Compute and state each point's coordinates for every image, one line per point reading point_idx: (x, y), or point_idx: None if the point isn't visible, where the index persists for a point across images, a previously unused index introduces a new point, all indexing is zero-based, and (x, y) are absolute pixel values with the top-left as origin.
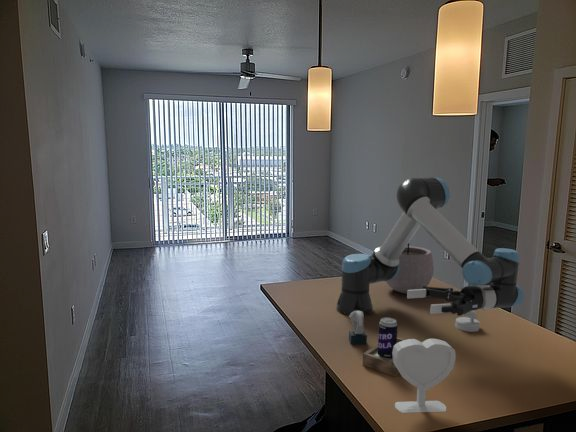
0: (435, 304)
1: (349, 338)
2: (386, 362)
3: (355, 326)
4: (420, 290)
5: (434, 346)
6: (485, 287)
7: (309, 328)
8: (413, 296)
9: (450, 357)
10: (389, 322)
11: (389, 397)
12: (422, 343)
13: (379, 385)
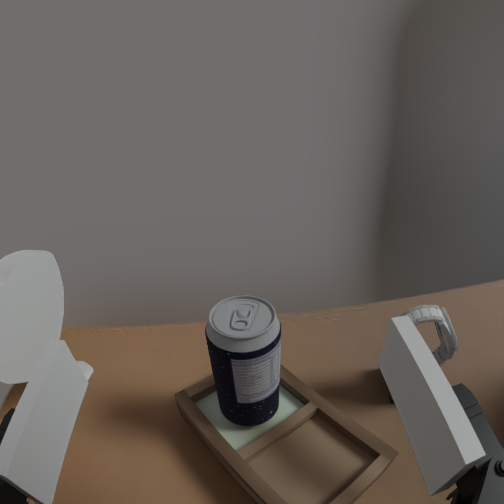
0: (47, 366)
1: None
2: (198, 384)
3: (435, 355)
4: (438, 411)
5: None
6: None
7: (451, 304)
8: (397, 390)
9: None
10: (222, 314)
11: (111, 367)
12: (4, 283)
13: (157, 369)
